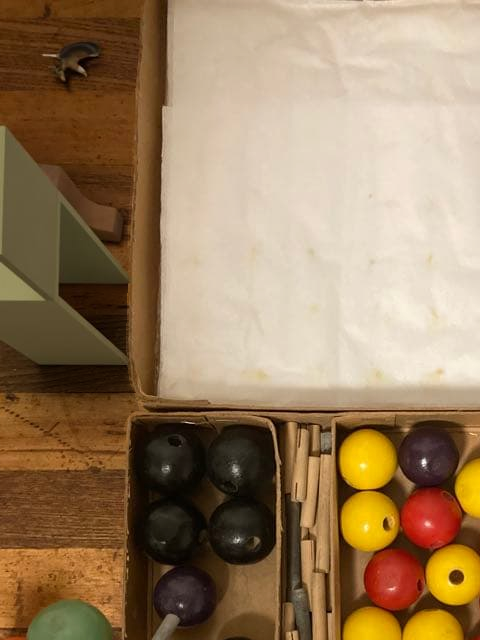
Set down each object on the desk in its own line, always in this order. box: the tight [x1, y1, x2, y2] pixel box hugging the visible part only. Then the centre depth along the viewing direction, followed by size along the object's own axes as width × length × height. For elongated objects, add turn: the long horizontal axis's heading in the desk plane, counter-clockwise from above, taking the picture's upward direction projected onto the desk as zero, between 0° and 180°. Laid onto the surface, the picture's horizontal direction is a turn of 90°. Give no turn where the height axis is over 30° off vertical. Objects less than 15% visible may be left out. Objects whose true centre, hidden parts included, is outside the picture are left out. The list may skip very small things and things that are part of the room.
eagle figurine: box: [41, 40, 101, 82], centre depth 150 cm, size 8×7×9 cm
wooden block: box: [36, 162, 125, 243], centre depth 142 cm, size 9×4×18 cm, turn 83°
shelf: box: [0, 125, 131, 366], centre depth 126 cm, size 16×16×49 cm
